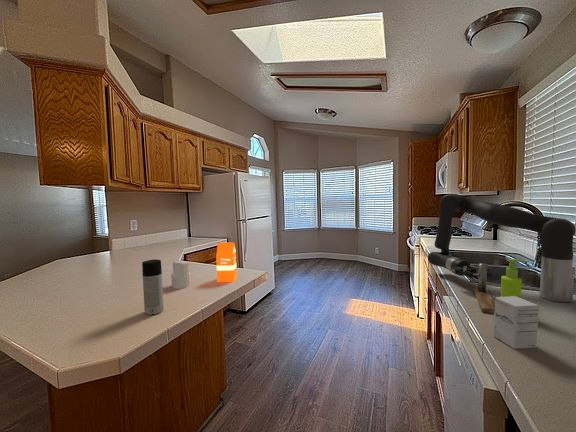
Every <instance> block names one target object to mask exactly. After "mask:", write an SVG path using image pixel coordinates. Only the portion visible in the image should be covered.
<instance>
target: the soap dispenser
mask: <svg viewBox="0 0 576 432" xmlns="http://www.w3.org/2000/svg"><path fill="white" fill-rule="evenodd" d="M506 261H507V262H508V263H509V264H508V266H507V267H506V268H505V275H501V278H500V281H501V282H500V297H509V296H516V297H519V298H521V299H522V287H523V286H522V285H523V278H521V277H518V275H519V269H518V268H517V267H516V263H518V262H519V263H527V261H526V260H523V259H517V258H506Z"/></svg>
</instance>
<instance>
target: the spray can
mask: <svg viewBox="0 0 576 432" xmlns="http://www.w3.org/2000/svg"><path fill="white" fill-rule="evenodd" d="M141 263H142V264H141V268H142V269H141V270H142V288H143V305H144V314H145V315H147V314H148V315H147V316H153V315H152V314H155V315H157V313H158V314H161V313H162V312H163V311H164V291H163V272H162V260H161V259H149V260H145V261H143V262H141ZM160 312H161V313H160Z"/></svg>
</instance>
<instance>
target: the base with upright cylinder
mask: <svg viewBox="0 0 576 432" xmlns="http://www.w3.org/2000/svg"><path fill="white" fill-rule="evenodd" d="M478 266H479V271H477V273H478V275H477V279H478V280H477V287H473V292H474V295H475V298H476V300H477V302H478V306H479V307H480V311H481V312H482V313H488V314H494V315H495V298H493V297H492V295H491V293H490V292H489V289H487V278H488V277H487V269H488V263H481V262H479V263H478Z"/></svg>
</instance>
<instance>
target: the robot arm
mask: <svg viewBox="0 0 576 432" xmlns="http://www.w3.org/2000/svg"><path fill="white" fill-rule="evenodd" d="M455 212H459V213H460V212H461V213H466V214H471V215H473V216H475V217H476V218H477V217H478V218H479V219H481V220H483V221H486V222H487V223H491V224H495V225H498V226H502V227H507V228H513V229H522V230H528V231H532V232H534V233H538V234H541V238H540V239H541V240H540V241H541V242H540V249H541V261H540V263H541V264H540V265H541V267H540V283H539V284H540V285H539V297H541V298H543V299H545V300H547V301H548V300H549V301H553V302H559V303H573V301H574V299H573V298H574V285H575V280H574V278H573V264H574V263H573V262H574V251H573V250H574V249H573V248H574V247H573V245H574V236H575V234H576V226H575V225H574V223H573V222H572V221H570V220H569V219H566V218H561V217H553V216H546V215H540V214H535V213H531V212H529V211H526V210H523V209H518V208H515V207H511V206H508V205H504V204H499V203H494V202H489V201H484V200H483V201H481V200H478V199H473V198H470V197H467V196H464V195H461V194H458V193H449V194H445V195H444V196H442V197H441V199H440V201H439V216H438V225H437V231H436V236H435V240H434V247H435V248H437V250H441V251H431V252H429V253H428V255H427V261H428V262H429V264H431V265H432V266H436V267H439V268H440V267H441V268H443V269H446V270H448V271H449V272H451V273H453V274H455V275H457V276H459V277H460V276H461V277H468V278H470V279H473V278H474V275H475V276H478V271H479V265H478V266H474V265H471V263H470V262H469V261H468V260H465V259H462V258H460V257H455V256H451V255H450V245H451V239H452V236H453V234H452V233H453V232H452V229H453V228H452V222H453V217H454V214H455ZM492 277H493V272H492V271H490V269H489V268H487V278H492Z"/></svg>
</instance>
